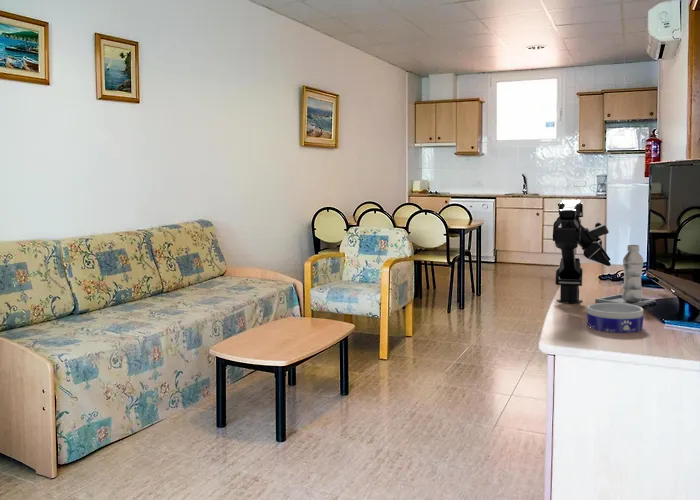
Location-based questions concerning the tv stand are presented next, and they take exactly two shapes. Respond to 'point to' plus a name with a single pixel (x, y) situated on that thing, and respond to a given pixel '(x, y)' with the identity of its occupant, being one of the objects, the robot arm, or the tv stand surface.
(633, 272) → the plastic bottle
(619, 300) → the grey tray
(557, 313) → the tv stand surface
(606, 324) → the dog bowl
